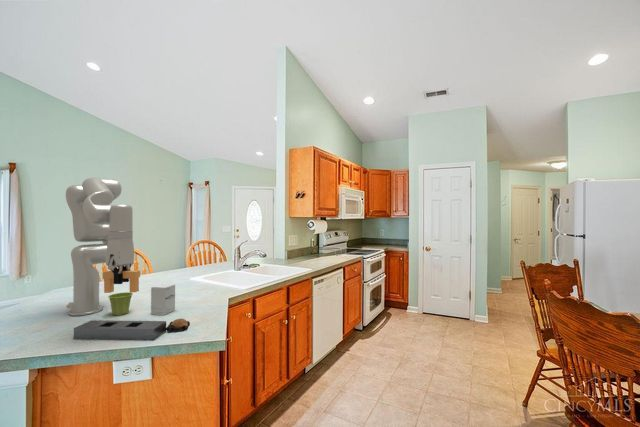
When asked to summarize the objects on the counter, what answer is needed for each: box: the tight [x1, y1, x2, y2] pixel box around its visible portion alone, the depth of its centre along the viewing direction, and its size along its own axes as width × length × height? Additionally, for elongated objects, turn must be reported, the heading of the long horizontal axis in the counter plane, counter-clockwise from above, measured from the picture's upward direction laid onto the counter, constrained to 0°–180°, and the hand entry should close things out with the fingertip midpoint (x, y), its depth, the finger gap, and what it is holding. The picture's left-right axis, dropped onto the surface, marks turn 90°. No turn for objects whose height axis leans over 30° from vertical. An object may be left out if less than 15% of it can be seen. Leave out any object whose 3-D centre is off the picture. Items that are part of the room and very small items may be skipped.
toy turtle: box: [166, 318, 191, 334], centre depth 117 cm, size 11×8×4 cm
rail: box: [73, 320, 167, 341], centre depth 109 cm, size 30×8×4 cm, turn 88°
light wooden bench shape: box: [102, 270, 141, 294], centre depth 113 cm, size 13×3×8 cm, turn 89°
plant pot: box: [107, 291, 134, 316], centre depth 134 cm, size 9×9×9 cm
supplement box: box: [150, 283, 176, 316], centre depth 135 cm, size 7×7×13 cm
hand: (121, 282), depth 113 cm, fingers closed on light wooden bench shape, 2 cm apart
